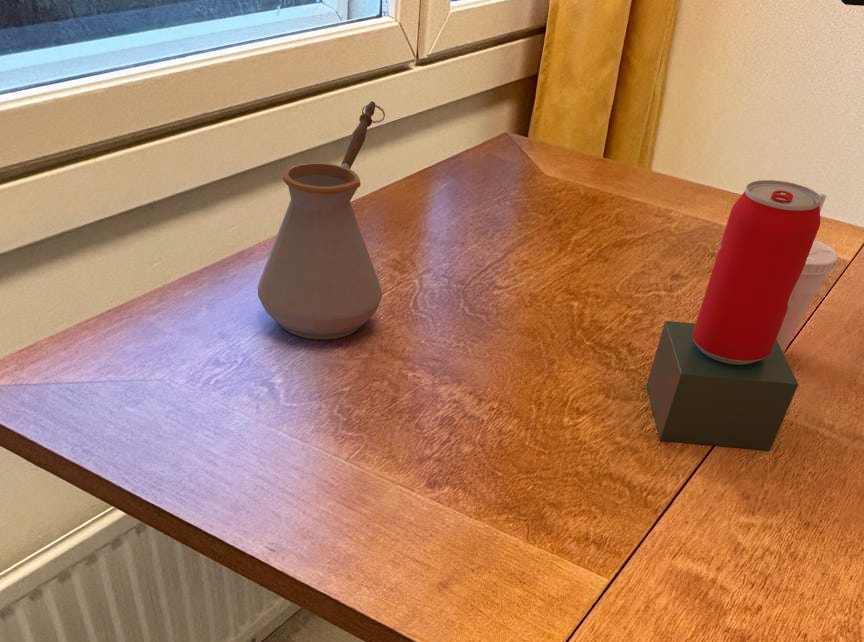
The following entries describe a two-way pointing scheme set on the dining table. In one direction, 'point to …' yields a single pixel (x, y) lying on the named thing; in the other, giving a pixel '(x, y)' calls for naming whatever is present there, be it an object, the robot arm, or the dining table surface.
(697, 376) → the riser block
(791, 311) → the smoothie
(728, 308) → the beverage can
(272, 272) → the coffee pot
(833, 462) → the dining table surface
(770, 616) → the dining table surface
